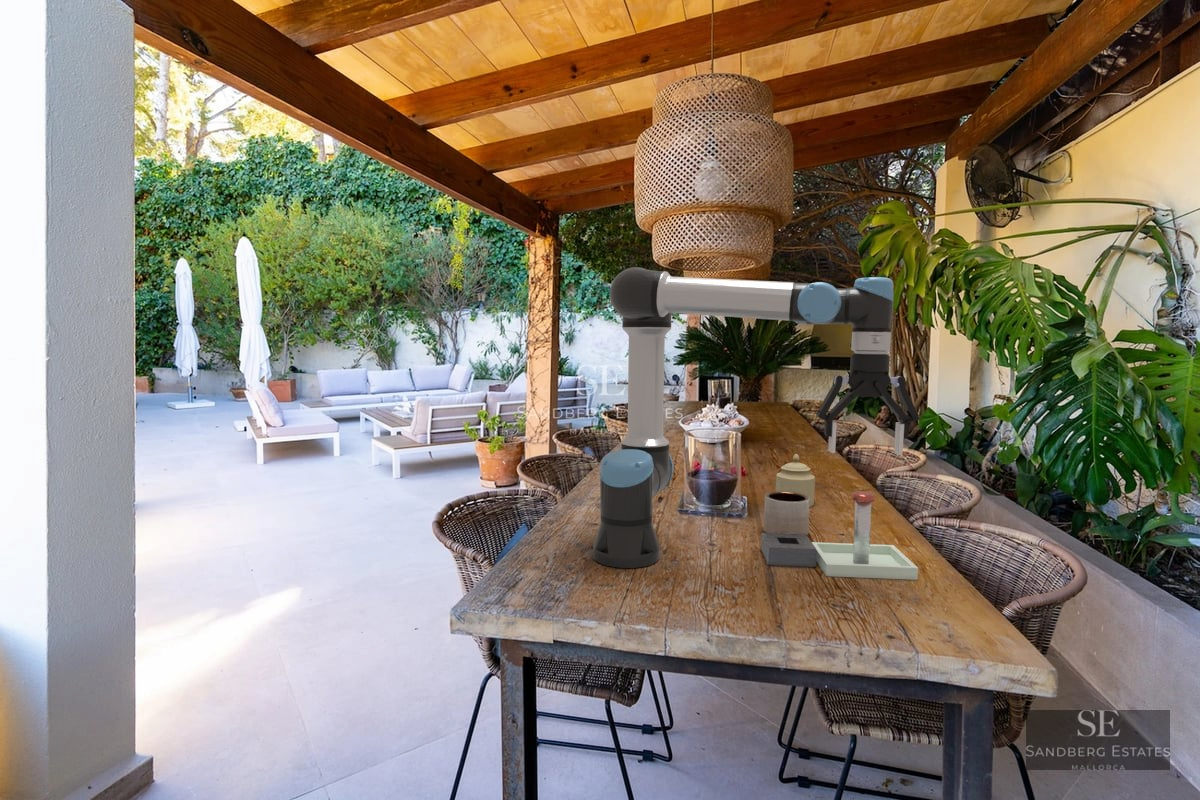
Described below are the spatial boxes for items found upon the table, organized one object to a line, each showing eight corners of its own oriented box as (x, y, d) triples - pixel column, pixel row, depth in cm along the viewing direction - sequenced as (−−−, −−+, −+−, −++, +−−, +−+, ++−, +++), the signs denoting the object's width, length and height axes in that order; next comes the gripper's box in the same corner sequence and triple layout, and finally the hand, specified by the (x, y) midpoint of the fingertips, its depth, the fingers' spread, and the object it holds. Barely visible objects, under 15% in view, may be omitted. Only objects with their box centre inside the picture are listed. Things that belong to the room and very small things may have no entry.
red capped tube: (853, 566, 132) (855, 496, 130) (847, 558, 136) (849, 491, 134) (874, 566, 131) (877, 496, 130) (868, 559, 135) (870, 491, 134)
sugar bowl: (763, 496, 192) (764, 448, 191) (795, 494, 194) (797, 447, 193) (786, 509, 178) (788, 457, 176) (821, 507, 180) (823, 456, 178)
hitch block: (768, 565, 134) (768, 547, 133) (761, 549, 144) (761, 532, 143) (815, 567, 133) (816, 549, 132) (805, 551, 143) (805, 534, 142)
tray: (826, 576, 128) (826, 564, 127) (810, 552, 141) (811, 542, 141) (917, 579, 126) (918, 567, 125) (892, 555, 139) (893, 545, 139)
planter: (811, 541, 149) (812, 503, 148) (764, 538, 151) (765, 500, 150) (805, 528, 160) (806, 492, 159) (762, 525, 162) (763, 490, 161)
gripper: (813, 352, 127) (808, 454, 129) (940, 354, 124) (933, 458, 126) (804, 351, 134) (800, 447, 136) (925, 353, 131) (919, 451, 134)
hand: (864, 452), depth 131 cm, fingers open, 13 cm apart
